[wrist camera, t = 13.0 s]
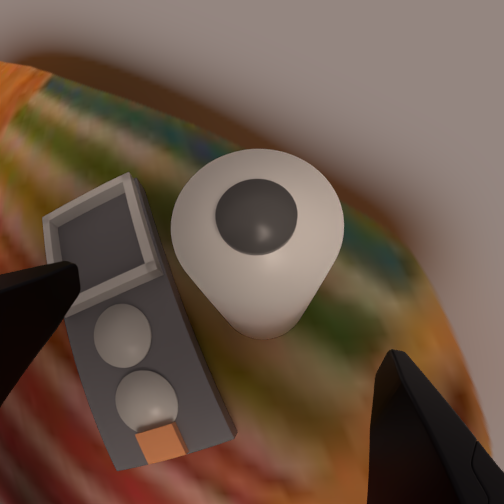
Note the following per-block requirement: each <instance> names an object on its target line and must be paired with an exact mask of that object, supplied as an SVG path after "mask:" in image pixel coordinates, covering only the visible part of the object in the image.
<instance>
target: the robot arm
mask: <svg viewBox="0 0 504 504" xmlns="http://www.w3.org/2000/svg"><path fill="white" fill-rule="evenodd" d="M80 290H81V285H80V278H79V270H78V266H77V265H76V264H75V263H72V262H70V261H60V262H56V263H51V264H46V265H42V266H37V267H33V268H28V269H24V270H19V271H15V272H10V273H6V274H1V275H0V407H1V405H2V404H3V402H4V401H5V399H6V398H7V396H8V395H9V393H10V392H11V390H12V389H13V387H14V386H15V385H16V383H17V382H18V380H19V379H20V377H21V376H22V375H23V373H24V372H25V370H26V369H27V368H28V366H29V365H30V364H31V362H32V361H33V359H34V358H35V357H36V355H37V354H38V353H39V351H40V350H41V349H42V347H43V346H44V345H45V344H46V342H47V341H48V340H49V338H50V337H51V336H52V334H53V333H54V332H55V330H56V329H57V327H58V326H59V324H60V323H61V321H62V320H63V318H64V317H65V315H66V314H67V312H68V311H69V309H70V308H71V306H72V305H73V303H74V302H75V300H76V299H77V297H78V296H79V294H80ZM476 440H477V439H476V438H475V436H474V435H473V434H472V433H471V431H470V430H469V429H468V427H467V426H466V425H465V424H464V422H463V421H462V420H461V419H460V417H459V416H458V415H457V414H456V412H455V411H454V410H453V409H452V408H451V406H450V405H449V404H448V403H447V401H446V400H445V399H444V398H443V397H442V395H441V394H440V393H439V392H438V391H437V389H436V388H435V387H434V386H433V385H432V383H431V382H430V381H429V380H428V379H427V377H426V376H425V375H424V374H423V373H422V371H421V370H420V369H419V368H418V367H417V366H416V364H415V363H414V362H413V361H412V360H411V359H410V357H409V356H408V355H407V354H406V353H405V352H403V351H399V350H393V349H391V350H389V351H388V352H387V354H386V356H385V358H384V360H383V362H382V363H381V365H380V367H379V369H378V371H377V373H376V376H375V384H374V395H373V405H372V414H371V423H370V452H369V479H368V496H367V504H504V472H503V471H502V470H501V469H500V468H499V467H498V465H497V464H496V463H495V462H494V460H493V459H492V458H491V457H490V455H489V454H488V453H487V452H486V450H485V449H484V448H483V447H482V445H481V444H480V443H479V441H476Z"/></svg>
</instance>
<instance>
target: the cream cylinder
mask: <svg viewBox="0 0 504 504" xmlns="http://www.w3.org/2000/svg"><path fill="white" fill-rule="evenodd" d="M343 234H344V219H343V212H342V208H341V204H340V201H339V199H338V196H337V194H336V192H335V191H334V189H333V187H332V186H331V184H330V183H329V182H328V180H327V179H326V178H325V177H324V176H323V175H322V174H321V173H320V172H319V171H318V170H317V169H316V168H314V167H313V166H312V165H310V164H309V163H307V162H306V161H304V160H302V159H300V158H298V157H296V156H294V155H290V154H288V153H285V152H281V151H276V150H269V149H248V150H241V151H237V152H233V153H230V154H227V155H224V156H222V157H219V158H217V159H215V160H213V161H212V162H210V163H208V164H207V165H205V166H204V167H203V168H201V169H200V170H199V171H198V172H197V173H195V174H194V175H193V176H192V177H191V179H190V180H189V181H188V182H187V183H186V185H185V186H184V188H183V189H182V191H181V192H180V194H179V196H178V198H177V201H176V203H175V206H174V209H173V213H172V219H171V237H172V244H173V247H174V251H175V254H176V256H177V258H178V260H179V263H180V264H181V266H182V267H183V269H184V270H185V272H186V273H187V274H188V276H189V277H190V278H191V279H192V280H193V282H194V283H195V284H196V285H197V286H198V288H199V289H200V290H201V291H202V292H203V293H204V295H205V296H206V297H207V298H208V299H209V301H210V302H211V303H212V304H213V305H214V306H215V308H216V309H217V310H218V311H219V312H220V313H221V315H222V316H223V317H224V318H225V319H226V320H227V321H228V323H229V324H230V325H231V326H232V327H233V328H234V329H235V330H236V331H238V332H239V333H241V334H243V335H245V336H247V337H250V338H253V339H262V340H265V339H272V338H276V337H279V336H281V335H283V334H285V333H287V332H288V331H290V330H291V329H292V328H293V327H294V326H295V325H296V324H297V322H298V321H299V320H300V318H301V316H302V315H303V313H304V312H305V310H306V308H307V307H308V305H309V304H310V302H311V300H312V299H313V297H314V295H315V294H316V292H317V290H318V289H319V287H320V285H321V284H322V282H323V280H324V279H325V277H326V275H327V274H328V272H329V270H330V269H331V267H332V265H333V263H334V261H335V260H336V258H337V256H338V253H339V251H340V248H341V245H342V240H343Z"/></svg>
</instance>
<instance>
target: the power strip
mask: <svg viewBox="0 0 504 504" xmlns="http://www.w3.org/2000/svg"><path fill="white" fill-rule="evenodd" d="M42 219H43V231H44V242H45V251H46V259H47V264H51V263H56V262H60V261H70V262H72V263H75V264H76V265H77V266H78V270H79V278H80V285H81V290H80V294H79V296H78V297H77V299H76V300H75V302H74V303H73V305H72V306H71V308H70V309H69V311H68V312H67V314H66V315H65V317H64V320H65V325H66V329H67V333H68V337H69V341H70V345H71V348H72V352H73V356H74V359H75V363H76V366H77V370H78V373H79V376H80V379H81V382H82V385H83V388H84V391H85V394H86V397H87V400H88V403H89V406H90V409H91V411H92V414H93V417H94V419H95V422H96V424H97V427H98V429H99V432H100V434H101V437H102V439H103V442H104V444H105V446H106V449H107V451H108V453H109V455H110V457H111V460H112V462H113V464H114V466H115V468H116V470H117V471H120V470H125V469H130V468H135V467H139V466H144V465H148V464H153V463H157V462H161V461H165V460H168V459H172V458H176V457H179V456H183V455H186V454H189V453H193V452H196V451H199V450H202V449H206V448H209V447H212V446H215V445H218V444H221V443H224V442H227V441H229V440H232V439H234V438H235V436H236V434H237V430H236V428H235V426H234V424H233V422H232V420H231V418H230V416H229V413H228V411H227V409H226V407H225V405H224V403H223V400H222V398H221V396H220V394H219V391H218V389H217V387H216V385H215V382H214V380H213V378H212V375H211V373H210V371H209V368H208V366H207V364H206V361H205V359H204V356H203V354H202V352H201V349H200V347H199V344H198V342H197V339H196V337H195V334H194V332H193V329H192V327H191V324H190V322H189V319H188V316H187V314H186V311H185V309H184V306H183V303H182V301H181V298H180V295H179V292H178V290H177V287H176V284H175V281H174V279H173V276H172V273H171V270H170V267H169V264H168V262H167V259H166V256H165V253H164V250H163V247H162V244H161V241H160V238H159V235H158V232H157V229H156V226H155V222H154V219H153V216H152V213H151V210H150V206H149V203H148V200H147V197H146V193H145V190H144V189H143V187H142V185H141V184H140V182H139V181H138V179H137V178H134V179H133V177H132V176H131V174H130V173H129V172H127V173H125V174H123V175H121V176H119V177H117V178H115V179H113V180H111V181H109V182H107V183H105V184H103V185H101V186H99V187H97V188H95V189H93V190H91V191H89V192H87V193H85V194H83V195H82V196H80V197H78V198H76V199H74V200H72V201H70V202H69V203H67V204H65V205H63V206H61V207H60V208H58V209H56V210H54V211H53V212H51V213H49V214H48V215H46V216H44V217H42Z"/></svg>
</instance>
